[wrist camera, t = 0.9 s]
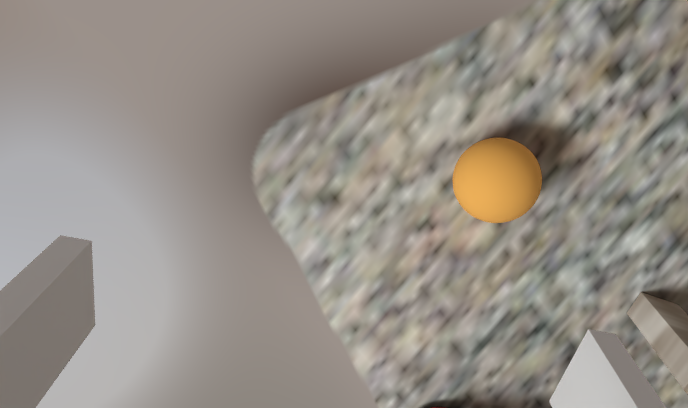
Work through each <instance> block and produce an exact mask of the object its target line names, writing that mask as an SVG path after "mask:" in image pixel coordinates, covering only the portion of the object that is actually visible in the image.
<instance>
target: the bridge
mask: <svg viewBox="0 0 688 408" xmlns="http://www.w3.org/2000/svg"><path fill="white" fill-rule="evenodd" d="M627 314H628V315H629V316H630V318H631V319H632V320H633V322H634V323H635V325H636V326H637V327H638V329H639V330H640V331H641V333H642V334H643V335H644V337H645V338H646V339H647V341H648V342H649V343H650V345H651V346H652V347H653V349H654V350H655V351H656V353H657V354H658V356H659V357H660V358H661V360H662V361H663V362H664V364H665V365H666V366H667V368H668V369H669V370H670V372H671V373H672V374H673V376H674V377H675V378H676V380H677V381H678V382H679V384H680V385H681V387H682V388H683V389H684V391H685V392H686V393H687V395H688V315H687V313H686V312H685V311H684V310H683V309H682V308H681V307H680V306H679V305H678V304H675V303H672V302H669V301H666V300H663V299H660V298H657V297H654V296H651V295H648V294H645V293H642V292H641V293H640V294H639V296H638V297H637V299H636V300H635V302H634V303H633V305H632V306H631V308H630V309H629V311H628V312H627Z"/></svg>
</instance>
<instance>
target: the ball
mask: <svg viewBox="0 0 688 408" xmlns="http://www.w3.org/2000/svg"><path fill="white" fill-rule="evenodd" d="M541 186H542V174H541V169H540V166H539V163H538V161H537V159H536V158H535V156H534V155H533V153H532V152H531V151H530V150H529V149H527V148H526V147H525V146H524V145H522V144H520V143H519V142H516V141H514V140H511V139H507V138H489V139H485V140H482V141H479V142H477V143H475V144H474V145H472V146H471V147H469V148H468V149H467V150H466V151H465V152H464V153H463V154H462V155H461V157H460V158H459V160H458V162H457V164H456V166H455V169H454V173H453V189H454V193H455V196H456V198H457V200H458V202H459V204H460V205H461V206H462V207H463V208H464V209H465V210H466V211H467V212H468V213H469V214H470V215H472V216H473V217H475V218H477V219H479V220H482V221H485V222H490V223H503V222H508V221H511V220H514V219H516V218H519V217H520V216H522V215H523V214H525V213H526V212H527V211H528V210H529V209H530V208H531V207H532V206H533V205H534V204H535V202H536V200H537V198H538V196H539V194H540V190H541Z"/></svg>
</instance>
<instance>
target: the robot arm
mask: <svg viewBox="0 0 688 408" xmlns="http://www.w3.org/2000/svg"><path fill="white" fill-rule="evenodd" d="M93 288H94V286H93V264H92V242H91V241H89V240H83V239H78V238H72V237H66V236H60V237H58V238H57V239H56V240H55V241H54V242H53V243H52V244H51V245H49V246H48V247H47V248H46V249H45V250H44V251H43V252H42V253H41V254H40V255H39V256H38V257H36V258H35V259H34V260H33V261H32V262H31V263H30V264H29V265H28V266H27V267H26V268H25V269H23V270H22V271H21V272H20V273H19V274H18V275H17V276H16V277H15V278H14V279H13V280H11V282H9V283H8V284H7V285H6V286H5V287H4V288H3V289H2V290H1V291H0V408H36V406H37V405H38V403H39V402H40V401H41V399H42V398H43V397H44V395H45V394H46V392H47V391H48V390H49V388H50V387H51V385H52V384H53V383H54V381H55V380H56V379H57V377H58V376H59V374H60V373H61V372H62V370H63V369H64V367H65V366H66V365H67V363H68V362H69V361H70V359H71V358H72V356H73V355H74V354H75V352H76V351H77V350H78V348H79V346H80V345H81V344H82V343H83V341H84V340H85V338H86V337H87V336H88V334H89V333H90V331H91V330H92V329H93V327H94V326H95V310H94V289H93ZM550 404H551V406H552V408H666V406H665V405H664V404H663V402H662V401H661V399H660V398H659V396H658V395H657V393H656V392H655V391H654V389H653V388H652V386H651V385H650V383H649V382H648V380H647V379H646V377H645V376H644V375H643V373H642V372H641V370H640V369H639V367H638V366H637V364H636V363H635V361H634V360H633V359H632V357H631V356H630V354H629V353H628V351H627V350H626V348H625V347H624V346H623V344H622V343H621V341H620V340H619V338H618V337H617V335H616V334H613V333H607V332H601V331H596V330H590V329H588V331H587V333H586V335H585V336H584V338H583V340H582V342H581V344H580V346H579V347H578V349H577V351H576V353H575V355H574V357H573V358H572V360H571V362H570V364H569V366H568V368H567V369H566V371H565V373H564V375H563V377H562V379H561V380H560V382H559V384H558V386H557V388H556V390H555V391H554V393H553V395H552V397H551V399H550Z"/></svg>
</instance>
